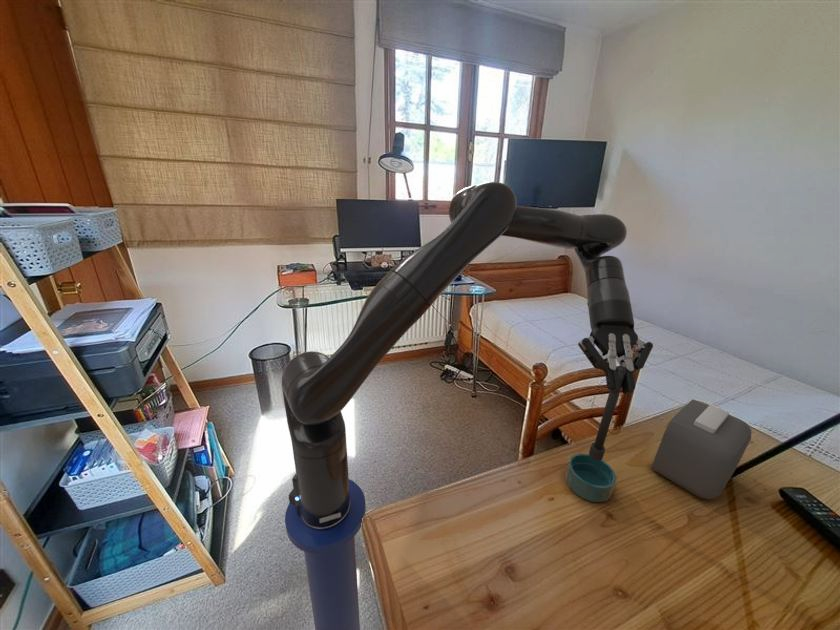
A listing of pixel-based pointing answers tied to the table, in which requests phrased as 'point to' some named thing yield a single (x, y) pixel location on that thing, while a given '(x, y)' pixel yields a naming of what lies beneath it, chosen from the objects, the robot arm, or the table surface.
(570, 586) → the table surface
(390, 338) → the robot arm
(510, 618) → the table surface
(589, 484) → the bowl
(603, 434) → the long dark rod
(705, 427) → the alarm clock
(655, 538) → the table surface
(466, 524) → the table surface
